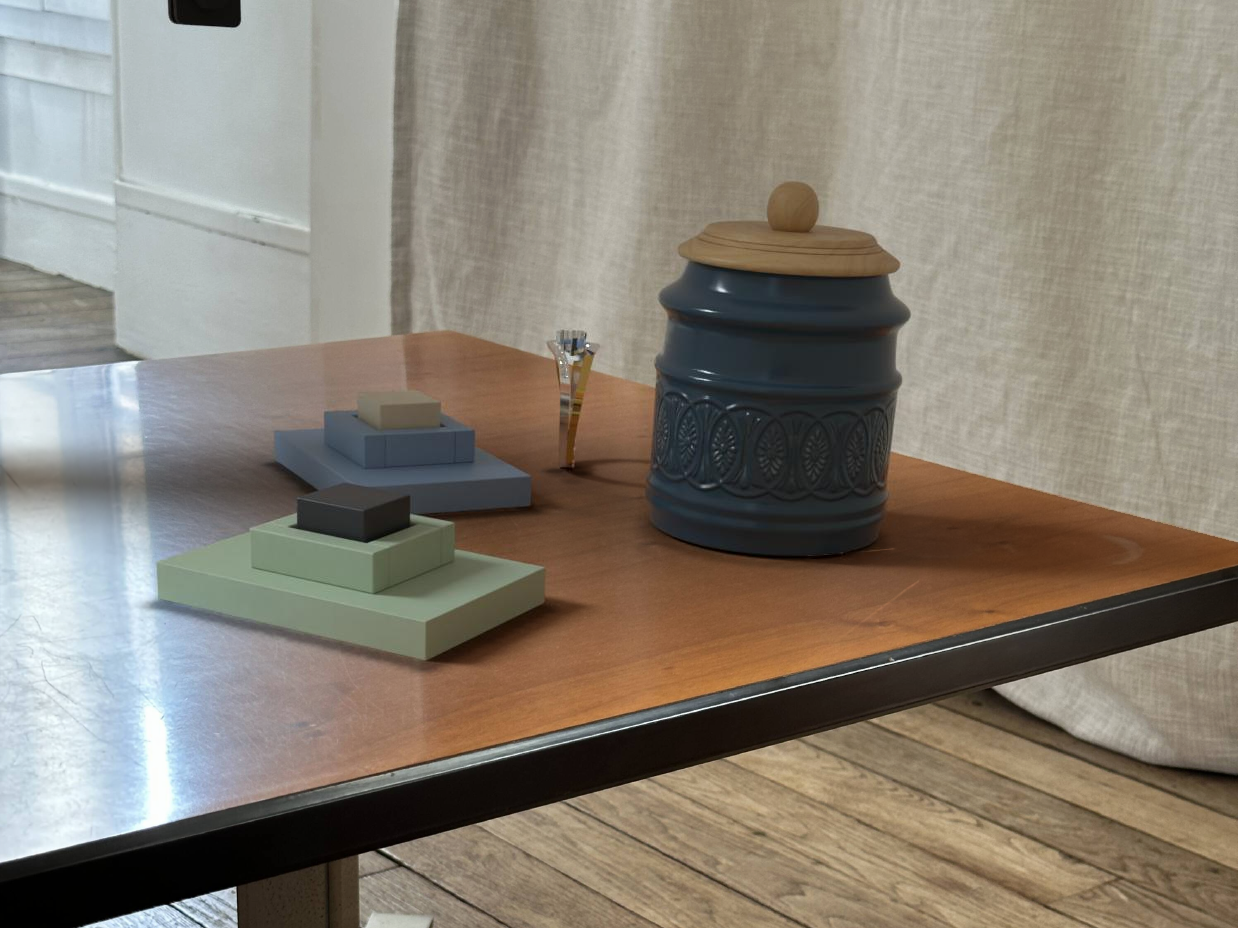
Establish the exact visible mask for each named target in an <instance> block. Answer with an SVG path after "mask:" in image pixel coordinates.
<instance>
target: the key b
mask: <svg viewBox="0 0 1238 928" xmlns="http://www.w3.org/2000/svg"><path fill="white" fill-rule="evenodd" d="M356 396H357V400H356V401H357V404H356V405H357V410H358V419H359V420H360V421H362V422H364V423H366V424H367V425H369V426H371V427H373V428H374V429H376V430H390V429H411V428H431V427H440V426H441V413H442V403H441V401H439V400H437V399H435V398H433V397H431V396H430V395H427V394H426V393H423V392H421V391H419V390H417V389H405V390H404V389H403V390H375V391H358V392H357V395H356Z"/></svg>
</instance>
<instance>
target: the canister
mask: <svg viewBox="0 0 1238 928" xmlns="http://www.w3.org/2000/svg"><path fill="white" fill-rule="evenodd" d="M819 203H820V201H819V198H818V195H817V193H816V192H815V190H814V189H813V188H812V187H811V185H809V184H808V183H804V182H802V181H795V180H794V181H792V180H790V181H785V182H782V183H780V184H779V185H777V186H776V187H775V188H774V189H773V191H772V192H771V194H770V196H769V198H768V201H767V205H766V218H767V220H727V221H725V220H724V221H716V222H711V223H708V224H707V225H706V227H705V228H704V229H703V231H701V232H699V233H698V234H696V235H695V236H693V237H690V238H689V239H687V240H685V241H683V242H682V243H680V244H679V245H678V246H677V254H678V256H680V258H683V259H685V260H686V263H685V265H684V267H683V269H682V271H681V274H680V275H679V277H678V278H677V279H676V280H674V281H672V282H670V283H669V284H668V285H666V286H664V287H663V288H662V289H661V290H660V291H659V292H658V295H657V301H658V302H659V304H660V306H661V307H662V308H663V310H664V311H665V313H666V326H665V327H666V328H665V335H664V336H665V337H664V342H663V347H662V350H661V351H660V352H659V353H657V354H656V356H655V357H654V359H653V360H654V361H653V367H654V368H655V371H656V372H655V373H656V374H655V388H654V404H653V405H654V406H653V419H652V433H651V434H652V435H651V448H650V463H649V464H650V465H649V468H648V469H647V471H646V474H645V480H646V483H647V484H646V486H645V492H644V494H645V499H646V501H647V505H648V520H649V521H650V523H651V524H652V525H653V526H654V527H655V528H656V529H658V530H659V531H661V532H663V533H664V534H666V535H669V536H670V537H673V538H676V539H678V540H681V541H684V542H687V543H691V544H695V545H697V546H702V547H706V548H711V549H715V550H720V551H721V550H722V551H728V552H733V553H734V552H735V553H742V554H750V555H759V556H777V557H816V556H829V555H839V554H843V553H849V552H854V551H857V550H860V549H863V548H865V547H868V546H870V545H871V544H872V543H874V542H875V541H877V539H878V538H879V535H880V530H881V526H882V523H883V521H884V519H885V518H886V515H887V512H888V509H887V508H888V507H887V503H888V500H889V496H890V495H889V489H888V475H889V467H890V459H891V450H892V443H893V434H894V427H895V419H896V410H897V402H898V395H899V390H900V388H901V386H902V384H903V375H902V373H901V372H900V371H899V370H898V369H897V344H898V334H899V331H900V330H901V329H902V328H903V327H904V326H905V325H906V324H907V323H908V322H909V321H910V319H911V318H912V312H911V309H910V308H909V306H908V305H907V304H906V303H904V302H903V301H902V300H900V299H899V297H897V296H896V294H894V293H893V289H892V285H891V281H890V280H891V279H890V277H889V275H891V274H894V273H897V272H898V271H899V269H900V268H901V262H900V260H899V259H898V258H896V257H895V255H893V254H891V253H890V252H889V251H887V250H886V249H884V247H882V246H881V245H880V244H879V242H878V240H877V239H876V237H875V236H874V235H873V234H870V233H868V232H864V231H860V230H856V229H852V228H844V227H837V226H830V225H823V224H822V225H821V224H816V223H817V221H818V217H819V214H820V204H819Z"/></svg>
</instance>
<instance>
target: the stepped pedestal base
mask: <svg viewBox="0 0 1238 928" xmlns="http://www.w3.org/2000/svg"><path fill="white" fill-rule="evenodd" d="M155 564H156V567H155V568H156V585H157V599H158V600H161V601H167V602H171V603H175V604H179V605H183V606H188V607H191V608H196V609H201V610H205V611H209V612H212V613H213V612H214V613H218V614H221V615H228V616H230V617H235V618H239V619H244V620H249V621H251V622H252V621H253V622H257V623H261V624H265V625H269V626H274V627H279V628H283V629H286V630H291V631H296V632H300V633H304V634H309V635H312V636H318V637H321V638H325V639H329V640H335V641H338V642H342V643H347V644H352V645H355V646H360V647H364V648H369V649H373V650H376V651H381V652H386V653H390V654H394V655H400V656H404V657H406V658H407V657H408V658H411V659H417V660H420V661H425V662H426V661H429V660H431V659H433V658H435V657H437V656H439V655H441V654H443V653H445V652H447V651H449V650H451V649H453V648H455V647H457V646H460V645H461V644H463V643H465V642H468V641H469V640H472V639H474V638H476V637H478V636H479V635H482V634H484V633H485V632H488V631H489V630H492V629H494V628H496V627H498V626H500V625H502V624H504V623H506V622H508V621H510V620H513V619H515V618H516V617H519V616H520V615H522V614H524V613H527V612H528V611H531V610H533V609H535V608H537V607H538V606H541V605H543V604H545V599H546V598H545V595H546V575H547V574H546V572H547V571H546V570H547V568H546V566H541V565H537V564H536V565H535V564H531V563H526V562H523V561H518V560H517V561H516V560H511V559H506V558H502V557H501V558H500V557H497V556H492V555H487V554H481V553H477V552H472V551H467V550H461V549H457V548H456V523H455V522H454V521H448V520H443V519H439V518H433V517H429V516H428V517H427V516H423V515H413V514H410V528H407V529H404V530H401V531H399V532H396V533H393V534H391V535H388V536H385V537H383V538H380V539H377V540H374V541H372V542H369V543H363V542H358V541H353V540H348V539H343V538H338V537H333V536H328V535H323V534H319V533H314V532H309V531H304V530H299V529H297V512H295V513H292V514H290V515H285V516H283V517H280V518H277V519H273V520H271V521H267V522H265V523H261V524H258V525H255V526H252V527H249V531H247V532H244V533H240V534H238V535H235V536H232V537H227V538H225V539H222V540H218V541H216V542H213V543H210V544H208V545H204V546H201V547H197V548H195V549H192V550H189V551H186V552H182V553H180V554H177V555H173V556H170V557H168V558H167V557H166V558H165V559H164V558H163V559H162V560H159V561H156V562H155Z"/></svg>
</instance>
